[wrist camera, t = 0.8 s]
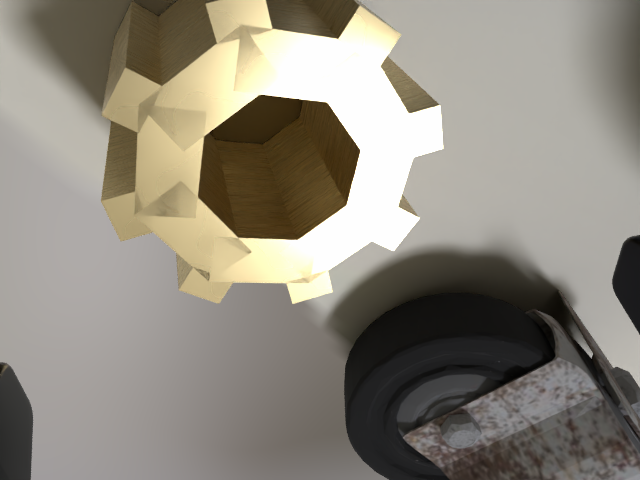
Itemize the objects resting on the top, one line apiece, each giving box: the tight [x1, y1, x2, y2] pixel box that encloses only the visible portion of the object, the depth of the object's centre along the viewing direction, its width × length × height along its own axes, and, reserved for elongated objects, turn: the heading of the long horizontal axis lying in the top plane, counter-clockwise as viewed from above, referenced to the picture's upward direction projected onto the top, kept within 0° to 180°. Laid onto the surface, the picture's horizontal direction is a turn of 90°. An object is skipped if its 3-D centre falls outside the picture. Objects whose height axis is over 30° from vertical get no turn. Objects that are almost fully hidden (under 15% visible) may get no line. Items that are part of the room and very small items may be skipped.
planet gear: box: [101, 0, 443, 304], centre depth 14 cm, size 7×7×5 cm
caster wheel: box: [344, 290, 640, 480], centre depth 23 cm, size 7×11×10 cm
